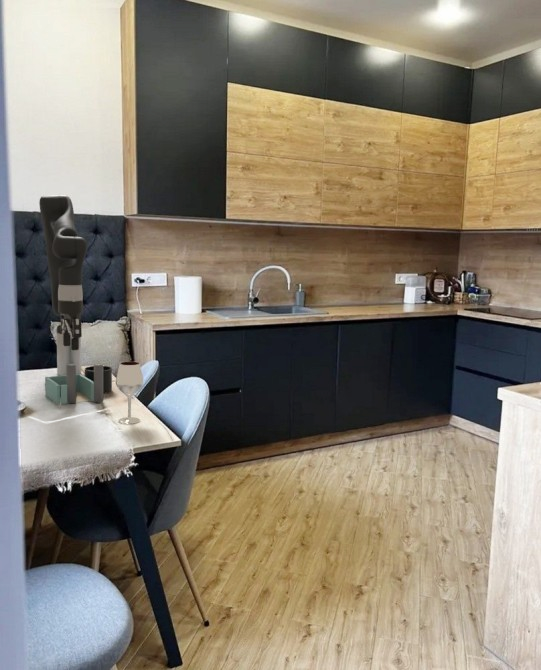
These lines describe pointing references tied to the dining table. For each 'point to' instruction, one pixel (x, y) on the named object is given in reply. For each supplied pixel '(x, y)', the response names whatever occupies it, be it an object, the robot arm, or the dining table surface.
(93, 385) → the flap far
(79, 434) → the dining table surface
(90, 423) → the dining table surface
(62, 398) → the flap near
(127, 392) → the wineglass
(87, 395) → the teal open box
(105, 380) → the mug
